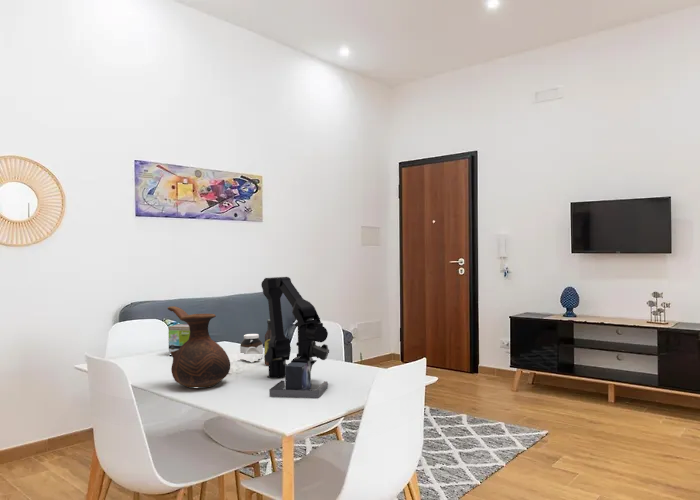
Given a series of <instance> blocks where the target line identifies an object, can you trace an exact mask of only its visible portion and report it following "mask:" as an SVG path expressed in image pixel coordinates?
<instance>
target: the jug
mask: <svg viewBox="0 0 700 500" xmlns="http://www.w3.org/2000/svg"><path fill="white" fill-rule="evenodd" d="M167 310H168V311H169V312H172V313H174V314H175V315H176V317H178V319H179V320H180V321H182V322H184V323H185V324H188V325H189V328H190V336H189V339H188V341H187V342H185V343H184V344H183V345H182V346H181V347H180V349H178V350H176V351H173V352H172V351H171V352H170V353H171V355H172V356H171V357H172V363H171V368H170V369H171V376H172V378H173V380H174V382H175V383H178V384H180V385H183V386H185V387H186V386H187V387H186V388H188V387H206V388H210V387H209V386H212V387H214V386H216V385H218V384H219V383H220V382H221V381H222V380H224V379H225V378H226V377H227V376H228V375H229V373H230V370H231V361H230V358H229V356H228V354H227V352H226V351H225V349H224V348H223V347H222V346H221V345H220V344H218V342H216V341H215V340H213V339H212V338H211V336H210V332H209V324H210V321H211V320H212V319H214V318H216V314H214V313H194V314H192V313H191V314H188V313H187V312H186V311H185V310H184V309H182V308H180V307H178V306H175V305H174V306H168V307H167ZM213 385H214V386H213Z"/></svg>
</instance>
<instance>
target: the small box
mask: <svg viewBox="0 0 700 500" xmlns="http://www.w3.org/2000/svg"><path fill="white" fill-rule="evenodd" d="M286 364H287V363H286ZM311 371H312V369H311V361H310V365H309V366H307V363H300V362H291V361H290V362H289V363H288V364H287V365H286V366H285V377H284V379H285V380H284V381H285V388H284V389H304V390H312V380H311V379H312V374H311V373H312V372H311Z"/></svg>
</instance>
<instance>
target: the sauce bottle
mask: <svg viewBox="0 0 700 500" xmlns="http://www.w3.org/2000/svg"><path fill="white" fill-rule="evenodd" d="M266 323H267V330H266V332H265V335H264V350H263V355H264V356H265V354H266V352H267V351H268V343H269V341H270V339H271V337H272V334H271V324H270V319H267V321H266ZM263 359H264V366H269V362H265V358H264V357H263Z"/></svg>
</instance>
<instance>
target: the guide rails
mask: <svg viewBox="0 0 700 500" xmlns="http://www.w3.org/2000/svg"><path fill="white" fill-rule="evenodd" d="M328 382H329V381H327V380H326V381H323V382H322V383H321V384H319V386H318V387H317V388H316V389H310V390H304V389H285V380H283V379H282V380H280V381H279V382H277V383H276V384H274V385H273V386H272V387H271V388H269V392H268V395H269V398H293V399H294V398H295V399H296V398H299V399H302V398H304V399H320V398H321V396H322V395H323V394H325V392H326V391H327V390H328V389H329V388H328Z"/></svg>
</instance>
